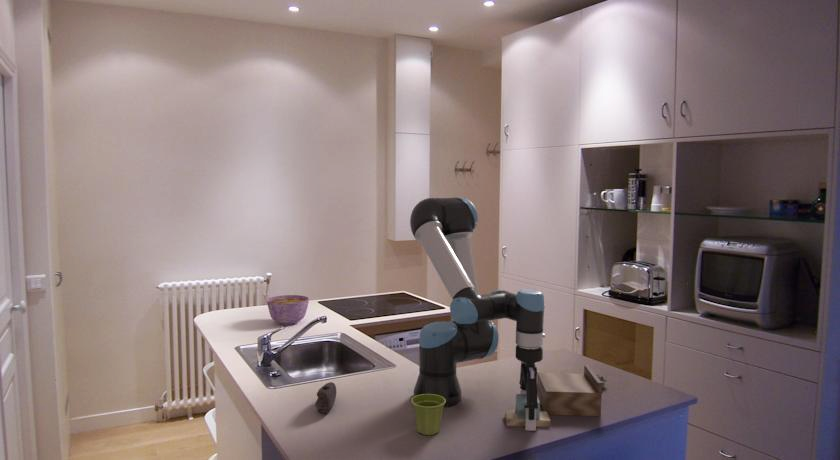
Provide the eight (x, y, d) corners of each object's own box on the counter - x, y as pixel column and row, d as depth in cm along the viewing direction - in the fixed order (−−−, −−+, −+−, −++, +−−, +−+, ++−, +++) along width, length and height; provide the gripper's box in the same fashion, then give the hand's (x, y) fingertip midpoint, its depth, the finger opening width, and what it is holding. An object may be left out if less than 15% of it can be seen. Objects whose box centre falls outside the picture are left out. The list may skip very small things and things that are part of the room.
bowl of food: (259, 327, 254) (258, 302, 253) (277, 316, 274) (277, 294, 273) (300, 329, 251) (299, 304, 250) (315, 318, 271) (315, 295, 270)
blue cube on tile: (507, 426, 153) (507, 401, 152) (504, 416, 159) (505, 393, 158) (550, 427, 152) (550, 403, 152) (546, 418, 158) (547, 394, 158)
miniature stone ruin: (590, 395, 176) (590, 383, 176) (570, 388, 182) (571, 376, 182) (609, 387, 183) (609, 375, 182) (589, 381, 189) (590, 369, 188)
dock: (545, 414, 160) (546, 381, 159) (536, 393, 176) (537, 363, 175) (600, 416, 159) (602, 382, 159) (587, 395, 175) (588, 364, 174)
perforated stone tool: (325, 396, 173) (324, 375, 172) (341, 397, 172) (341, 375, 172) (312, 416, 158) (312, 393, 157) (330, 417, 157) (330, 394, 157)
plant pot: (409, 423, 153) (410, 393, 153) (443, 422, 154) (443, 393, 154) (412, 439, 144) (412, 407, 143) (447, 438, 145) (447, 406, 144)
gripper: (550, 359, 142) (548, 440, 144) (536, 334, 165) (534, 404, 167) (521, 358, 142) (519, 439, 144) (511, 333, 166) (509, 403, 167)
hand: (527, 420), depth 156 cm, fingers open, 11 cm apart
